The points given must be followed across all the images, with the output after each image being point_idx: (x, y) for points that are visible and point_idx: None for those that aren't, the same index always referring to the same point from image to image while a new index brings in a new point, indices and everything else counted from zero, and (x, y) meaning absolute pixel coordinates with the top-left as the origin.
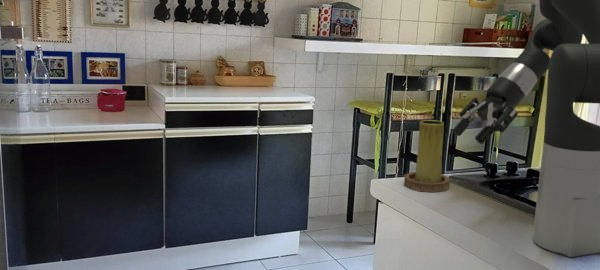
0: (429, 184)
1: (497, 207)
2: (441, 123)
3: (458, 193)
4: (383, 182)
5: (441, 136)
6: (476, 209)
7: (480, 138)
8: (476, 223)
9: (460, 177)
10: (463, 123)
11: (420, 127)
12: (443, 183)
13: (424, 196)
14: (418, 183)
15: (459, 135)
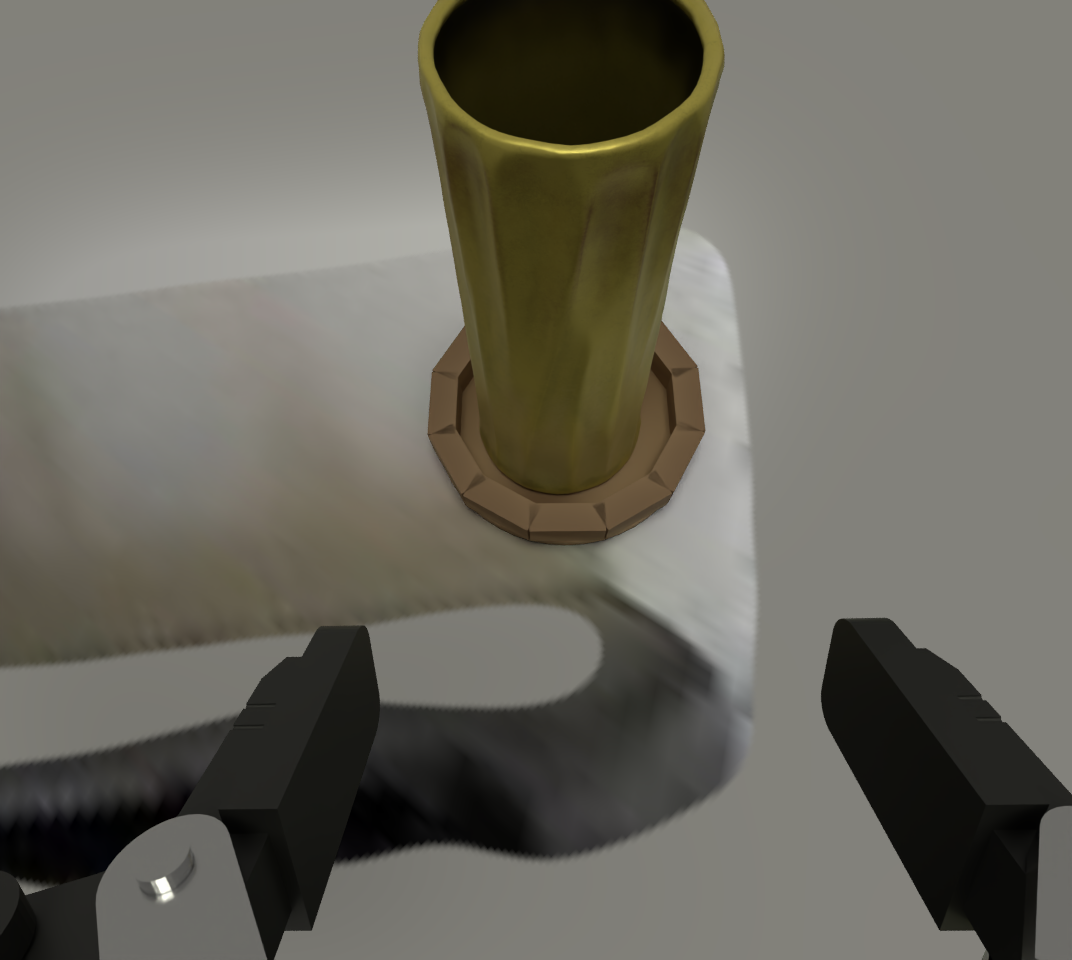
0: (444, 354)
1: (104, 581)
2: (435, 87)
3: (377, 515)
4: None
5: (456, 230)
6: (141, 460)
7: (291, 661)
8: (20, 362)
9: (668, 733)
10: (932, 786)
11: (596, 21)
12: (429, 432)
13: (402, 330)
14: None
15: (826, 715)
